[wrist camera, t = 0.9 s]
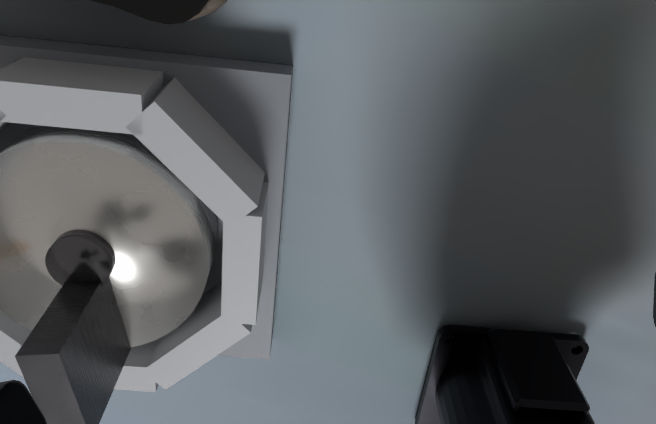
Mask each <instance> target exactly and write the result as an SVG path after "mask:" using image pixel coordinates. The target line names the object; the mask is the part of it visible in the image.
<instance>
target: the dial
mask: <svg viewBox="0 0 656 424" xmlns="http://www.w3.org/2000/svg"><path fill="white" fill-rule="evenodd" d="M217 232H218V231H217V222H216V216H215V213H214V212H213V211H212V210H211V209H210V208H209V207H208V206H206V205H205V204H204V203H203V202H202V201H201V200H200V199H199V198H198V197H197V196H196V195H195V194H194V193H193V192H192V191H191V190H190V189H189V188H188V187H187V186H186V185H185V184H184V183H183V182H182V181H181V180H180V179H179V178H178V177H177V176H176V175H175V174H173V173H172V172H171V171H170V170H169V169H168V168H167V167H166V166H165V165H164V164H163V163H162V162H161V161H160V160H159V159H158V158H157V157H156V156H155V155H154V154H153V153H152V152H151V151H150V150H149V149H148V148H147V147H146V146H145V145H144V144H143V143H141V142H140V141H139V140H138V139H137V138H136V137H135V136H134V135H133V134H124V133H114V132H104V131H93V130H83V129H72V128H62V127H51V126H40V127H37V128H35V129H33V130H30V131H29V132H27V133H26V134H24V135H23V136H21V137H20V138H18V139H17V140H15V141H14V142H13V143H12V144H10V145H9V146H8V147H7V148H5V149H4V150H3V151H1V152H0V310H1V311H2V312H3V313H4V314H6V315H7V316H8V317H10V318H11V319H12V320H14V321H15V322H17V323H19V324H20V325H22V326H23V327H25V328H27V329H29V330H31V331H32V332H31V333H30V335H29V336H28V337H27V339H26V340H25V342H24V343H23V345H22V346H21V348H20V349H19V351H18V352H17V354H16V355H15V358H16V360H17V363H18V365H19V367H20V370H21V372H22V374H23V376H24V379H25V381H26V383H27V386H28V388H29V390H30V393H31V395H32V397H33V399H34V401H35V402H36V404H37V405H38V407H39V409H40V410H41V412H42V413H43V415H44V417H45V419H46V422H47V424H99V422H100V420H101V418H102V415H103V413H104V411H105V408H106V406H107V404H108V401H109V399H110V397H111V394H112V392H113V390H114V387H115V385H116V383H117V380H118V378H119V376H120V373H121V371H122V369H123V366H124V364H125V362H126V359H127V357H128V355H129V352H130V350H131V347H135V346H139V345H143V344H146V343H149V342H152V341H155V340H157V339H159V338H161V337H163V336H165V335H167V334H168V333H170V332H171V331H173V330H174V329H176V328H177V327H178V326H179V325H181V324H182V323H183V322H184V321H185V320H186V319H187V318H188V317H189V315H190V314H191V313H192V312H193V311H194V309H195V307H196V306H197V304H198V302H199V301H200V299H201V296H202V293H203V291H204V288H205V285H206V282H207V279H208V275H209V272H210V269H211V265H212V262H213V259H214V256H215V251H216V246H217Z"/></svg>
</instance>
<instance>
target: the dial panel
mask: <svg viewBox="0 0 656 424" xmlns="http://www.w3.org/2000/svg"><path fill="white" fill-rule="evenodd" d="M292 73H293V66H292V65H282V64H273V63H263V62H254V61H244V60H234V59H225V58H215V57H205V56H196V55H186V54H176V53H167V52H157V51H148V50H138V49H128V48H119V47H109V46H99V45H90V44H80V43H71V42H61V41H51V40H42V39H32V38H22V37H13V36H3V35H0V152H1V151H3V150H4V149H5V148H7V147H8V146H9V145H10V144H12V143H13V142H14V141H15V140H17V139H18V138H20V137H21V136H23V135H24V134H26V133H27V132H29V131H30V130H33V129H35V128H37V127H40V126H51V127H62V128H72V129H83V130H93V131H104V132H114V133H124V134H133V135H134V136H135V137H136V138H137V139H138V140H139V141H140V142H141V143H143V144H144V145H145V146H146V147H147V148H148V149H149V150H150V151H151V152H152V153H153V154H154V155H155V156H156V157H157V158H158V159H159V160H160V161H161V162H162V163H163V164H164V165H165V166H166V167H167V168H168V169H169V170H170V171H171V172H172V173H173V174H175V175H176V176H177V177H178V178H179V179H180V180H181V181H182V182H183V183H184V184H185V185H186V186H187V187H188V188H189V189H190V190H191V191H192V192H193V193H194V194H195V195H196V196H197V197H198V198H199V199H200V200H201V201H202V202H203V203H204V204H205V205H206V206H208V207H209V208H210V209H211V210H212V211H213V212H214V213H215V216H216V222H217V231H218V232H217V246H216V251H215V256H214V259H213V262H212V265H211V269H210V272H209V275H208V279H207V282H206V285H205V288H204V291H203V293H202V296H201V299H200V301H199V302H198V304H197V306H196V307H195V309H194V311H193V312H192V313H191V314H190V315H189V317H188V318H187V319H186V320H185V321H184V322H183V323H182V324H181V325H179V326H178V327H177V328H176V329H174V330H173V331H171V332H170V333H168V334H167V335H165V336H163V337H161V338H159V339H157V340H155V341H152V342H149V343H146V344H143V345H139V346H135V347H131V350H130V352H129V355H128V357H127V359H126V362H125V364H124V366H123V369H122V371H121V373H120V376H119V378H118V380H117V383H116V385H115V387H114V389H119V390H133V391H147V392H156V390H157V387H158V384H159V385H160V386H161V387H162V388H164V389H165V390H166V389H168V388H169V387H171V386H172V385H174V384H175V383H177V382H178V381H180V380H181V379H183V378H184V377H186V376H187V375H189V374H190V373H192V372H193V371H195V370H196V369H198V368H199V367H200V366H202V365H203V364H205V363H206V362H208V361H209V360H211V359H212V358H214V357H215V356H217V355H220V356H233V357H247V358H260V359H270V352H271V344H272V333H273V320H274V307H275V294H276V281H277V268H278V255H279V242H280V229H281V216H282V203H283V190H284V177H285V164H286V151H287V138H288V125H289V112H290V99H291V86H292ZM31 332H32V331H31V330H29V329H27V328H25V327H23V326H22V325H20V324H19V323H17V322H15V321H14V320H12V319H11V318H10V317H8V316H7V315H6V314H4V313H3V312H2V311H1V310H0V362H2V363H3V364H5V365H6V366H8V367H9V368H11V369H12V370H13V371H15V372H16V373H18V374H19V375H21V376H22V377H24V376H23V374H22V372H21V370H20V367H19V365H18V363H17V360H16V358H15V355H16V354H17V352H18V351H19V349H20V348H21V346H22V345H23V343H24V342H25V340H26V339H27V337H28V336H29V335H30V333H31Z"/></svg>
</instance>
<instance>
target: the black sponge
mask: <svg viewBox="0 0 656 424" xmlns="http://www.w3.org/2000/svg"><path fill="white" fill-rule="evenodd" d="M92 1H95V2H99V3H104V4H108V5H112V6H115V7H118V8H120V9H123V10H125V11H127V12H130V13H132V14H135V15H137V16H140V17H142V18H145V19H147V20H151V21H156V22H160V23H164V24H177V23H184V22H187V21H191V20H194V19H197V18H200V17H203V16H205V15H208V14H211V13H213V12H214V11H216V10H217V9H218V8H219V7H221V6H222V5H223V4H224V3H226V2H227V0H92Z"/></svg>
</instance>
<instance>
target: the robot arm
mask: <svg viewBox="0 0 656 424" xmlns="http://www.w3.org/2000/svg"><path fill="white" fill-rule="evenodd" d="M653 318H654V323H655V327H656V273H655V284H654V306H653ZM448 336H454V337H453V338H450V339H447V337H448ZM575 346H578V347H576V348H573V347H575ZM588 350H589V347H588V344H587V343H586V341H585V339H584V338H583V337H582V336H579V335H571V334H558V333H546V332H533V331H521V330H508V329H496V328H483V327H470V326H458V325H447V326H444V327H442V328H441V329H440V330H439V332H438V334H437V338H436V342H435V346H434V350H433V354H432V358H431V362H430V366H429V370H428V374H427V378H426V382H425V385H424V389H423V393H422V397H421V401H420V405H419V409H418V413H417V417H416V421H415V424H595V423H594V421H593V419H592V417H591V415H590V413H589V410H590V407H589V404H588V402H587V400H586V398H585V396H584V395H583V393H582V391H581V389H580V387H579V385H578V383H577V381H576V379H577V377H578V374H579V372H580V370H581V367H582V365H583V363H584V360H585V358H586V355H587V353H588ZM0 424H47V422H46V419H45V417H44V415H43V413H42V412H41V410H40V409H39V407H38V405H37V404H36V402H35V401H34V399H33V397H32V396H31V394H30V393H29V391H28V389H27V388H26V386H25V385H24V384H23V383H21V382H20V381H16V380H11V381H5V382H0Z"/></svg>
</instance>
